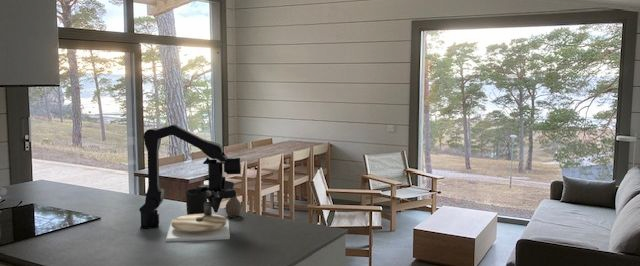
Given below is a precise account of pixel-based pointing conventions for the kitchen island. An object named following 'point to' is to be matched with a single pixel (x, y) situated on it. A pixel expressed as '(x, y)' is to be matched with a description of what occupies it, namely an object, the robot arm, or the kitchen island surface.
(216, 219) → the handwheel
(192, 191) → the pen holder
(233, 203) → the vase
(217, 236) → the base plate
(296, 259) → the kitchen island surface
